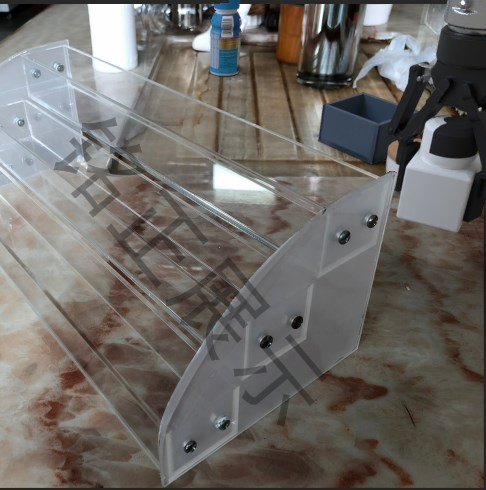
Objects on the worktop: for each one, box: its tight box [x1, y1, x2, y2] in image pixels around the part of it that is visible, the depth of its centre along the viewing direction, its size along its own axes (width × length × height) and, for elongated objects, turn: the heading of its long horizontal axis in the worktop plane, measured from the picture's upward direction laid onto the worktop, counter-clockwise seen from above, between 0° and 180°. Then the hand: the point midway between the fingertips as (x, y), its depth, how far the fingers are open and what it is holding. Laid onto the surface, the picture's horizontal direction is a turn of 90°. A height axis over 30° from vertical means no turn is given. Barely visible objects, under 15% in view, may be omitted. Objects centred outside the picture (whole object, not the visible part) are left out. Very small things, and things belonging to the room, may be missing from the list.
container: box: [396, 114, 482, 234], centre depth 76 cm, size 8×8×13 cm
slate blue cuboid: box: [317, 91, 420, 166], centre depth 120 cm, size 8×14×12 cm
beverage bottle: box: [209, 0, 243, 77], centre depth 158 cm, size 8×8×20 cm
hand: (435, 202), depth 78 cm, fingers closed on container, 9 cm apart
